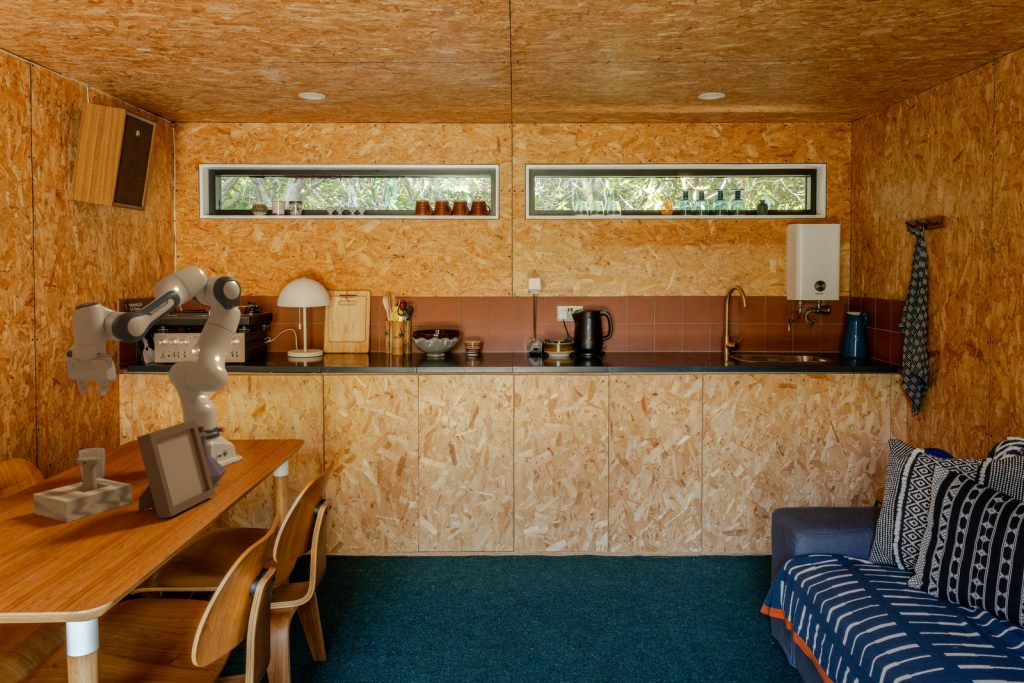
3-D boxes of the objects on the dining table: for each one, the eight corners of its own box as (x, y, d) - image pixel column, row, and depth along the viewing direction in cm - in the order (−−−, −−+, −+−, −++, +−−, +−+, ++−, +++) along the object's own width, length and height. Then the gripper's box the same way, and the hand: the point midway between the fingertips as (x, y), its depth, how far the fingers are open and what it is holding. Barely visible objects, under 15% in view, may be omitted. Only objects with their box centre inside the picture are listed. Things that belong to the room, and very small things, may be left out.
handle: (97, 508, 219) (95, 460, 217) (75, 509, 218) (73, 460, 217) (105, 504, 223) (103, 456, 222) (83, 504, 223) (81, 456, 222)
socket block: (99, 496, 231) (98, 477, 231) (131, 503, 224) (131, 484, 224) (34, 513, 214) (33, 494, 213) (67, 522, 206) (66, 501, 206)
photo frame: (215, 497, 230) (211, 420, 228) (171, 519, 209) (167, 434, 207) (173, 495, 233) (169, 419, 231) (126, 517, 212) (121, 433, 210)
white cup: (111, 476, 254) (110, 448, 254) (91, 482, 247) (90, 453, 246) (94, 474, 257) (93, 447, 256) (74, 480, 250) (73, 451, 249)
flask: (173, 494, 234) (171, 433, 232) (175, 481, 249) (173, 424, 247) (228, 489, 240) (226, 429, 238) (226, 476, 255) (224, 420, 254)
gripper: (120, 352, 235) (122, 395, 236) (80, 350, 244) (83, 390, 245) (101, 355, 229) (104, 398, 230) (61, 352, 238) (64, 393, 240)
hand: (93, 394), depth 238 cm, fingers open, 8 cm apart
